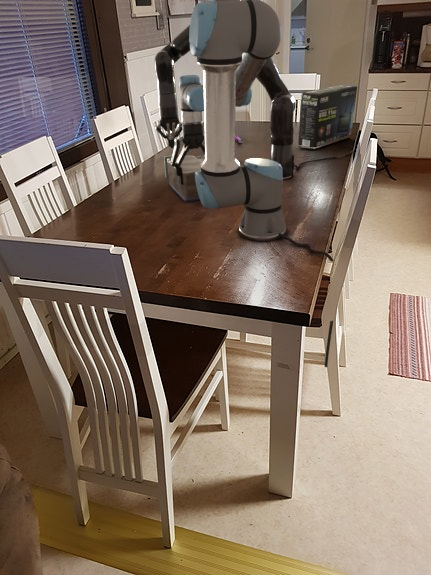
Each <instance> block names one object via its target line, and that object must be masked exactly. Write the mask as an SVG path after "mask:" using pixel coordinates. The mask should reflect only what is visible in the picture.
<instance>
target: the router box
mask: <svg viewBox="0 0 431 575" xmlns="http://www.w3.org/2000/svg"><path fill="white" fill-rule="evenodd" d="M357 93H358V86H356V85H350V84H339V85H338V84H337V85H334V86H328V87H324V88H318V89H314V90H309V91H304V92H301V93H300V109H299V110H300V111H299V124H298V137H297V146H298V145H302V146H307V147H317V146H320V145H323V144H325V143H328V142H331V141H333V140H336V139H338V138H341V137H344V136H347V135H351V136H352V133H353V132H352V131H353V125H354V115H355V109H356V99H357ZM311 151H313V150H312V149H311Z"/></svg>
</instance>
